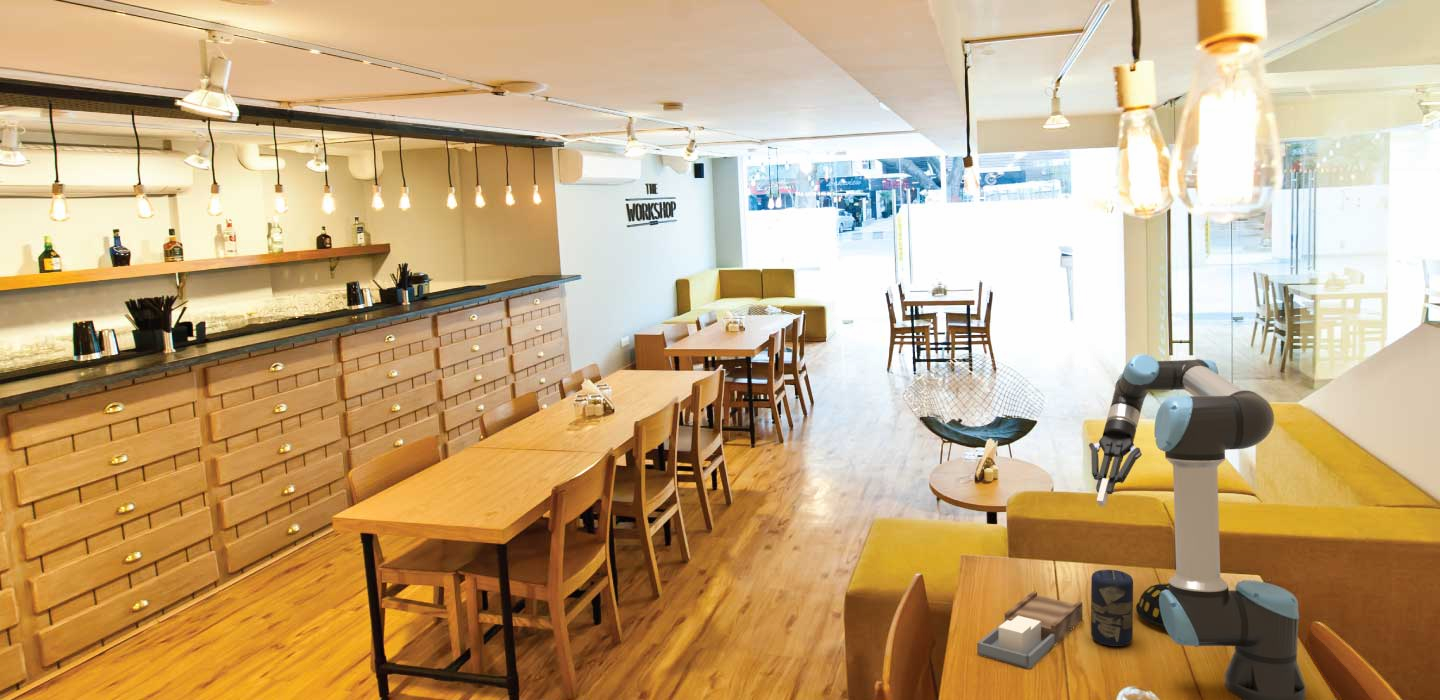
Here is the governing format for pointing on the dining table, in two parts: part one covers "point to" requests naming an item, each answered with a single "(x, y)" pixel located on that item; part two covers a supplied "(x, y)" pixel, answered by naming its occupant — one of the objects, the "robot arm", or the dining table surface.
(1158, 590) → the yellow spotted black dome
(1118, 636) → the canister
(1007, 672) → the dining table surface
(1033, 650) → the tray
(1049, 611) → the board
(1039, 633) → the block
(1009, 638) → the block
